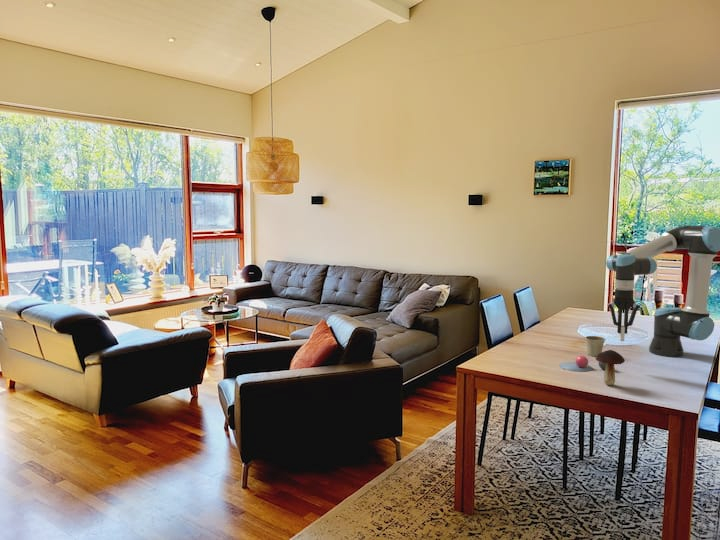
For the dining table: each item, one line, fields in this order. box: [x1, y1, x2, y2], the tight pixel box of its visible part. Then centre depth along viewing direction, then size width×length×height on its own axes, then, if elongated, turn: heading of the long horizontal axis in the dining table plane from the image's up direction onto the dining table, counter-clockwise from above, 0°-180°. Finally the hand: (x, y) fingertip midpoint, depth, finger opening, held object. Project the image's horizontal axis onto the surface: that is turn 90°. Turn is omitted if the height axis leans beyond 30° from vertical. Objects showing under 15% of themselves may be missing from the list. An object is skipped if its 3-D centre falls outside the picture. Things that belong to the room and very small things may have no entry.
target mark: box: [559, 361, 593, 373], centre depth 246 cm, size 14×14×1 cm
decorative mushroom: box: [595, 349, 626, 386], centre depth 220 cm, size 11×11×15 cm
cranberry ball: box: [574, 355, 589, 368], centre depth 245 cm, size 6×6×6 cm
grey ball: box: [598, 361, 606, 371], centre depth 242 cm, size 6×6×6 cm
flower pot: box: [584, 335, 606, 357], centre depth 265 cm, size 9×9×9 cm
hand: (621, 340), depth 239 cm, fingers closed
